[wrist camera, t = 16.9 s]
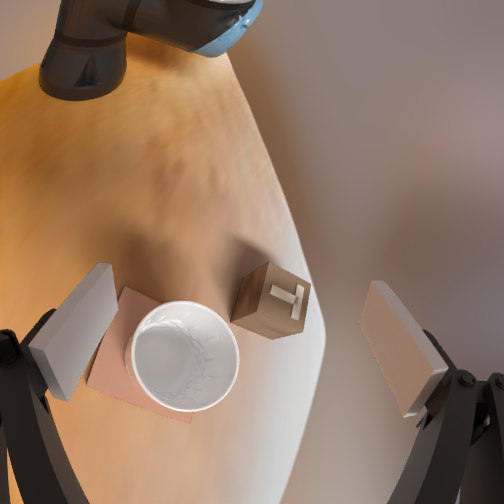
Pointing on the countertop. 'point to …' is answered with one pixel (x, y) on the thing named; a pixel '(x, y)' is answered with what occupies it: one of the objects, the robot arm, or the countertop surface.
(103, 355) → the coaster
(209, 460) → the countertop surface
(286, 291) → the letter block
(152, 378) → the white cup
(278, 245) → the countertop surface
